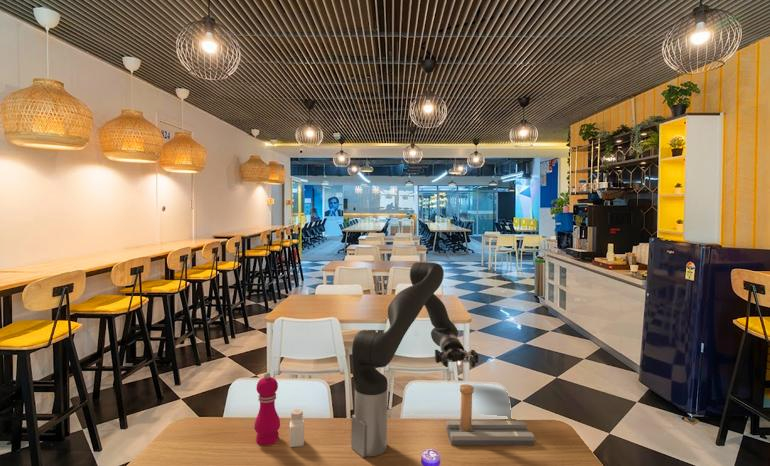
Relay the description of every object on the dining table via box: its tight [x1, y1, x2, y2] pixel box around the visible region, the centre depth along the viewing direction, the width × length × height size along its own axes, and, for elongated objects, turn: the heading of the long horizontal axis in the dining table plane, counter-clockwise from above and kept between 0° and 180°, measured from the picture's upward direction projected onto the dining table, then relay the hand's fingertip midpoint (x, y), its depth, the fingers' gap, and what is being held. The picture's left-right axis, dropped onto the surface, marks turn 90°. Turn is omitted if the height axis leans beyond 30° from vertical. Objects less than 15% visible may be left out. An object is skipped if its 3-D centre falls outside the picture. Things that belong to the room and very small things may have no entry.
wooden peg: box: [459, 384, 475, 432], centre depth 128 cm, size 4×4×14 cm
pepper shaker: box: [289, 408, 305, 448], centre depth 123 cm, size 4×4×10 cm
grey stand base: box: [446, 420, 536, 446], centre depth 128 cm, size 24×9×3 cm, turn 91°
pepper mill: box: [254, 372, 281, 446], centre depth 125 cm, size 7×7×20 cm
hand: (460, 364), depth 138 cm, fingers open, 8 cm apart
